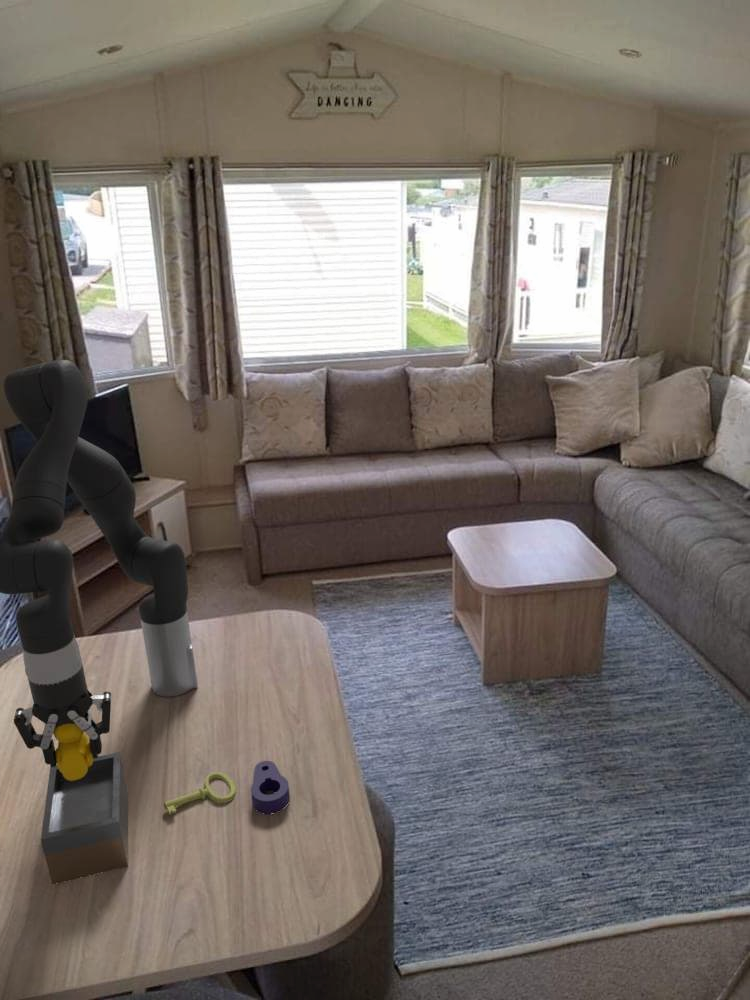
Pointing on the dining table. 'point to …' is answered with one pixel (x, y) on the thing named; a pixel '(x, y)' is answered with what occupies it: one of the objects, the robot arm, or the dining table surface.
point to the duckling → (72, 751)
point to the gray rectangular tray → (86, 821)
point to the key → (204, 793)
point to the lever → (269, 788)
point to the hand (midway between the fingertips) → (74, 758)
